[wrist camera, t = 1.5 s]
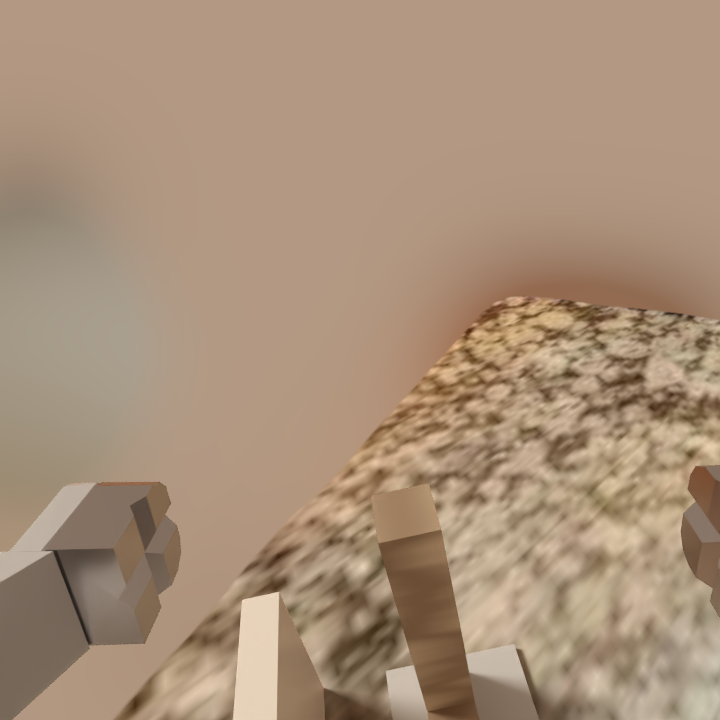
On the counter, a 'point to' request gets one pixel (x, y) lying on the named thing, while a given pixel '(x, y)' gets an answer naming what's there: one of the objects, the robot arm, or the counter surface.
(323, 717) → the slab tile
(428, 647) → the stacked wooden blocks
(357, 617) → the counter surface
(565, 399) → the counter surface
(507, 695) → the rest mat
